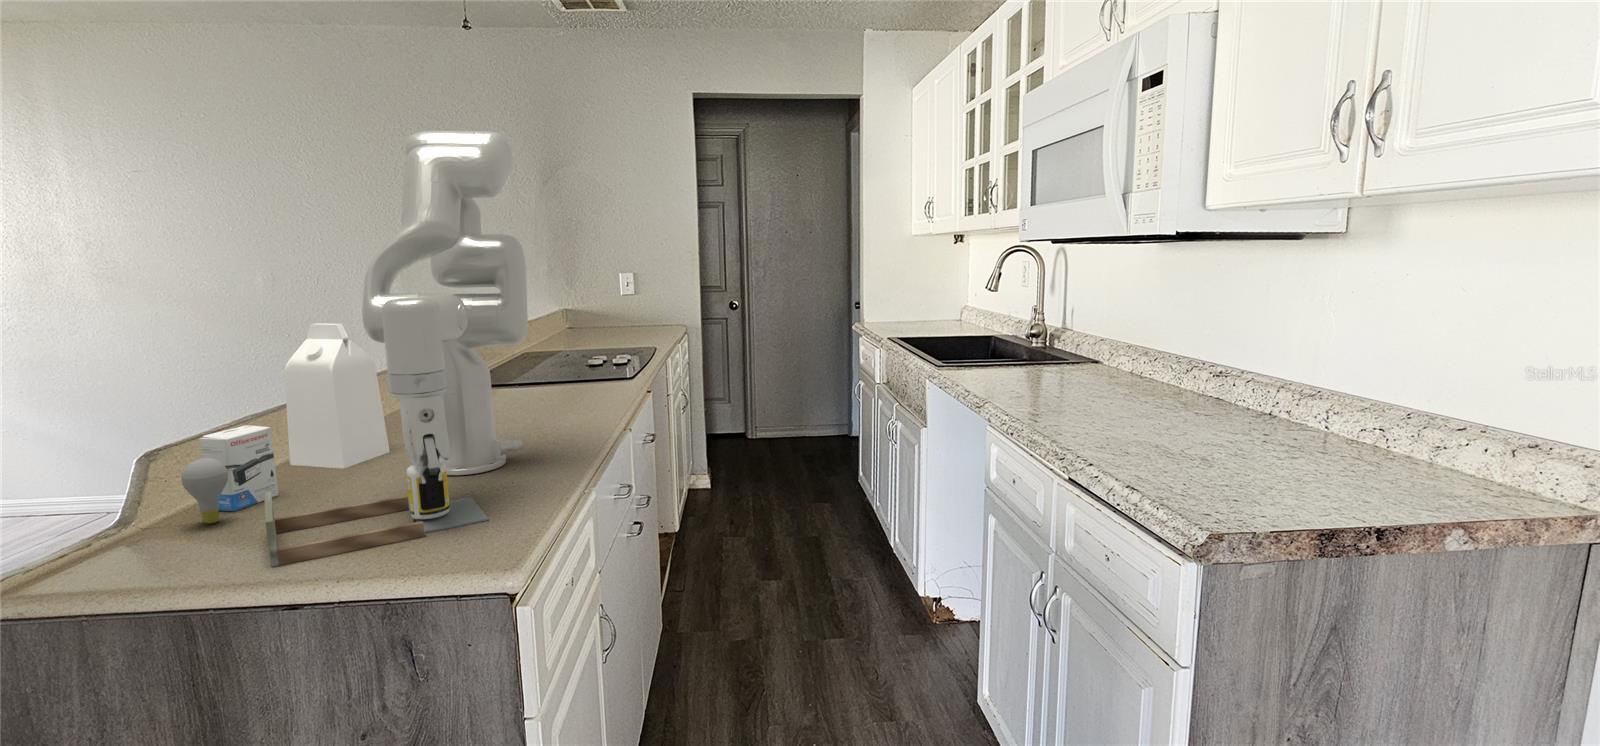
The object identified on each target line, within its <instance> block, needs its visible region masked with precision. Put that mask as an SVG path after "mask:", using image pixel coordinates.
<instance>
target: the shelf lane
mask: <svg viewBox="0 0 1600 746" xmlns="http://www.w3.org/2000/svg"><path fill="white" fill-rule="evenodd" d="M264 498H265V500H264V517H265V521H264V523H265V529H266V538H267V545H268V552H269V560H270V567H271V568H274V567H279V566H285V565H289V564H295V563H298V562H303V561H304V562H305V561H310V560H313V559H319V558H323V557H329V556H333V555H339V554H343V553H348V552H352V551H358V550H363V549H368V548H373V547H379V546H383V545H387V544H388V545H389V544H394V543H398V542H403V541H407V540H414V539H417V538H423V537H425V535H426V534H425V533H424V524H423V521H420V522H416V521H415V522H410V523H405V524H399V525H395V526H394V525H393V526H390V527H384V528H380V529H374V530H370V531H364V532H360V533H353V534H347V535H343V536H338V537H337V536H336V537H333V538H326V539H322V540H321V539H320V540H317V541H311V542H305V543H301V544H295V545H291V546H290V545H289V546H286V547H285V546H283V547H279V548H278V539H277V535H278V534H281V533H287V532H291V531H298V530H303V529H309V528H314V527H320V526H325V525H330V524H331V525H332V524H335V523H336V524H337V523H342V522H349V521H353V520H358V519H364V518H369V517H375V516H381V515H387V514H391V513H398V512H402V511H410V510H409V508H410V506H409V496H408V495H402V496H398V497H392V498H385V499H381V500H374V501H369V502H362V503H357V504H356V503H355V504H352V505H346V506H340V507H333V508H328V509H323V510H317V511H311V512H305V513H300V514H294V515H293V514H292V515H286V516H283V517H282V516H281V517H276V518H275V513H274V512H275V511H274V506H273V497H272V495H271V492H267V493H264Z"/></svg>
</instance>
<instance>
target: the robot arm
mask: <svg viewBox="0 0 1600 746" xmlns="http://www.w3.org/2000/svg"><path fill="white" fill-rule="evenodd" d="M404 152H405V153H404V154H405V161H404V169H403V171H404V172H403V173H404V174H403V189H402V203H401V221H400V222H401V223H400V229H399V231H398V232H397V233H396V234H394V235H393V236H392V237H391V238H390V239H389V240H388V241H387V242H386V243H385V244H384V245H383V246H381V248H380V249H379V251H377V253H376V254H375V256H374V257H373V259H372V260H371V261H370V264H369V265H368V268H367V271H366V273H365V278H364V283H363V293H362V295H363V296H362V307H361V308H362V311H361V312H362V314H361V315H362V323H363V324H362V326H363V328H364V331H365V334H367V336H368V337H369V338H370V339H371V340H373V341H374V342H377V343H381V344H384V349H385V358H386V359H385V360H386V369H387V379H388V388H389V396H390V397H392V398H395V399H397V398H398V399H399V400H398V401H399V413H400V421H401V428H402V429H401V430H402V436H403V438H402V439H403V443H404V448H405V453H406V455H407V456H408V457H409V459H410V458H411V460H412V461H413V462H414V463H415V464H418V467H419V474H420V481H421V483H419V494H420V504H421V509H422V510H430V509H435V508H440V507H444V506H445V496H444V485H443V480H442V474H441V467H440V462H442V463H443V464H445V466H446V471H447V476H466V475H468V476H469V475H473V474H474V475H475V474H479V473H481V474H482V473H485V472H489V471H493V470H497V469H498V468H500V467H502V466H504V465H505V464H506V462H507V458H506V454H507V452H511V451H512V452H517V451H523V449H524V443H523V441H522V439H517V440H516V439H515V440H512V439H506V440H499V439H498V438H497V437H496V429H495V417H494V415H495V414H494V404H493V392H492V380H491V372H490V368H489V366H488V364H487V363H486V361H485V360H484V359H483V358H482V357H481V356H480V355H479V354H478V353H477V351H476V350H475V349H474V348H480V347H481V348H482V347H484V348H485V347H486V348H487V347H507V346H508V347H510V346H517V345H520V344H521V343H523V342H524V341H525V340H526V337H527V335H528V329H529V328H528V327H529V320H528V316H529V314H528V313H529V312H528V294H527V292H528V290H527V287H528V286H527V270H526V269H527V268H526V267H527V265H526V257H525V253H524V249H523V246H522V243H521V242H520V241H519V240H518V239H517V238H516V237H514V236H512V235H509V234H503V233H501V234H499V233H497V234H495V233H491V234H488V233H487V234H486V233H482V225H481V223H482V222H481V218H482V217H481V210H480V207H479V205H478V204H477V202H476V201H475V200H474V199H478V198H479V199H480V198H483V199H484V198H485V199H487V198H493V197H497V196H498V195H499V194H500V193H501V191H502V189H503V187H504V185H505V183H506V182H507V180H508V178H509V175H510V174H511V170H512V163H513V162H512V161H513V160H512V151H511V146H510V144H509V141H508V139H507V138H506V137H505V136H504V135H503V134H501V133H499V132H496V131H485V130H484V131H483V130H482V131H478V130H477V131H475V130H470V131H469V130H426V131H418V132H416V133H413V134H411V135H410V136H408V137H407V138H406V140H405V143H404ZM473 198H474V199H473ZM429 258H430V268H431V274H432V277H433V279H434V281H435V282H436V283H437V284H438V285H440V286H442V287H448V288H459V289H460V288H461V289H463V288H465V289H466V288H470V289H471V288H497V289H498V290H499V292H498V293H497V292H496V293H494V292H493V293H449V292H448V293H447V292H427V293H426V292H410V293H409V292H407V293H405V292H403V293H401V292H399V293H397V292H396V293H391V289H392V286H393V284H394V282H395V280H396V279H397V278H399V277H398V276H400V275H401V274H402V273H403V272H404V271H406V270H407V269H409V268H410V267H413V266H414V265H415V264H418V263H420V262H422V261H425V260H427V259H429ZM438 452H439V453H438ZM439 455H440V459H439ZM421 458H427V461H426V462H422V461H421ZM411 460H410V461H411ZM424 466H427V467H428V468H425V471H424Z"/></svg>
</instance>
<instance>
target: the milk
mask: <svg viewBox="0 0 1600 746" xmlns="http://www.w3.org/2000/svg"><path fill="white" fill-rule="evenodd" d="M284 383H285V384H284V385H285V388H284V389H285V402H286V404H285V405H286V416H287V417H286V419H287V438H288V450H289V451H288V453H289V466H296V467H297V466H299V467H313V468H314V467H315V468H328V469H329V468H330V469H331V468H332V469H347V468H349V467H353V466H355V465H358V464H361V463H362V462H367V461H369V460H372V459H374V458H378V457H380V456H383V455H386V454H388V453H390V446H389V442H388V441H389V440H388V434H387V428H386V423H385V416H384V410H383V409H384V408H383V403H382V398H381V393H380V392H381V391H380V385H379V380H378V374H377V368H376V363H375V360H374V359H373V358H372V356H371V355H370V354H369V353H368V352H366V351H365V350H364V349H363V348H361V347H360V346H359V345H358V344H356V343H355V342H354V341H353V340H351V339H350V338H349V336H348V334H347V331H346V330H345V327H344V325H343V323H319V322H318V323H310V324H309V328H308V331H307V336H306V339H305V340H304V341H303V343H302V344H301V345H300V346H299V347H298V348H297V350H296V351H295V352H294V353H293V354H292V356H291V357H290V358H289V360H288V361H287V363H286V365H285V367H284Z"/></svg>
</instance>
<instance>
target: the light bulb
mask: <svg viewBox="0 0 1600 746" xmlns="http://www.w3.org/2000/svg"><path fill="white" fill-rule="evenodd" d="M227 481H228V471H227V469H226V467H225V466H224V464H223V463H221V462H220V461H218V460H216V459H212V458H203V457H202V458H198V459H196V460H193V461H192V462H190V463H188V464H187V465H186V466H185V467H184V469H183V471H182V473H181V484H182V486H183V488H184V489H185V490H186V491H187V492H188V494H190V496H192V497H193V499H195V500H196V502H197V503H198V506H199V512H200V513H201V519H202V522H203V523H205V524H208V525H210V526H211V525H214V524H215V523H216V522H218V521H220V512H219V511H220V510H219V503H218V502H219V497H220V495H221V493H222V491H223V489H224V487H225V485H226V483H227Z"/></svg>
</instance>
